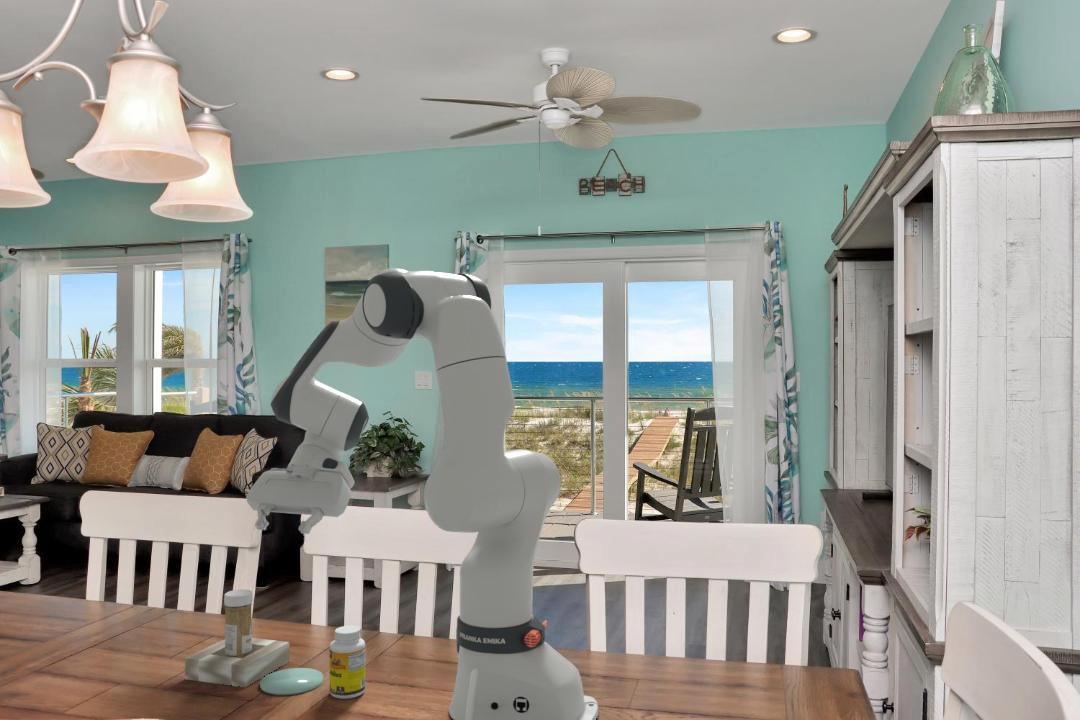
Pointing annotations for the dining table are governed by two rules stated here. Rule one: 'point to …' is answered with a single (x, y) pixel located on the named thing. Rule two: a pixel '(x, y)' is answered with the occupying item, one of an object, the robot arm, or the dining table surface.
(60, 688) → the dining table surface
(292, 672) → the coaster
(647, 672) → the dining table surface
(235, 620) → the sprinkles bottle
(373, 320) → the robot arm
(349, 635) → the supplement bottle
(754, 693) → the dining table surface
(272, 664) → the bore block
